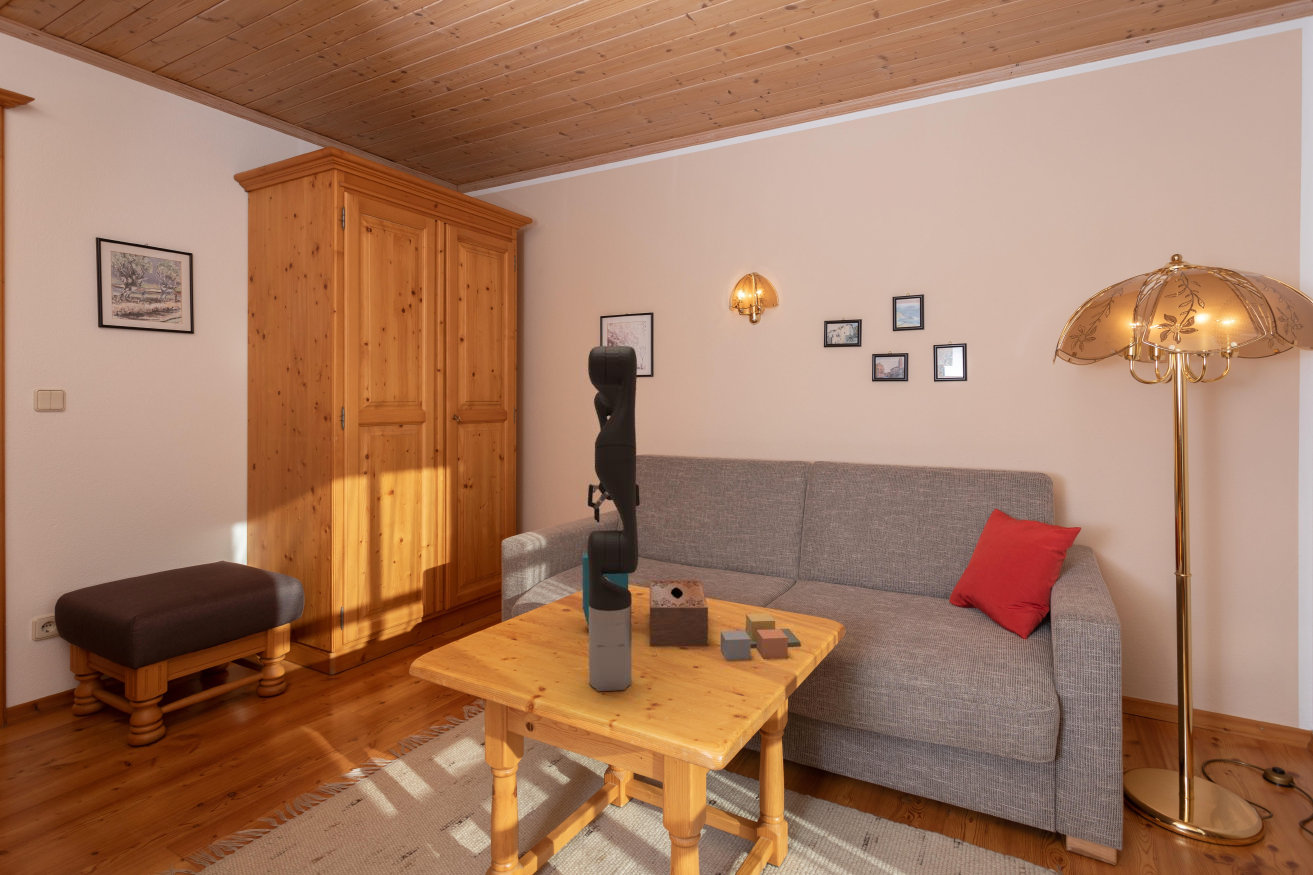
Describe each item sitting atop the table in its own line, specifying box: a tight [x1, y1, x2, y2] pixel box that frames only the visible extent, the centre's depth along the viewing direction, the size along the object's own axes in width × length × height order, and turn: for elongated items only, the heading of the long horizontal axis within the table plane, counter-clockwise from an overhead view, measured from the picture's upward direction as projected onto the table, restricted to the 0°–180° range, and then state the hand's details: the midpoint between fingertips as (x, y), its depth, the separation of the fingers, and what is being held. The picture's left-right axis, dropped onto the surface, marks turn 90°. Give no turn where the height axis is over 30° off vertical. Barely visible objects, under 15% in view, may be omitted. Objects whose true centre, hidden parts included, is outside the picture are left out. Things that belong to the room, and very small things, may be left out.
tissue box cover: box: [649, 579, 709, 647], centre depth 183 cm, size 26×14×10 cm, turn 1°
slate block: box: [720, 629, 751, 661], centre depth 164 cm, size 6×6×5 cm
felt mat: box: [736, 628, 802, 649], centre depth 174 cm, size 10×14×1 cm
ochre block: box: [745, 612, 776, 641], centre depth 174 cm, size 6×6×5 cm
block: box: [582, 553, 629, 629], centre depth 181 cm, size 12×5×20 cm, turn 93°
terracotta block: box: [755, 628, 789, 660], centre depth 165 cm, size 6×6×5 cm
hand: (613, 521), depth 188 cm, fingers open, 8 cm apart
